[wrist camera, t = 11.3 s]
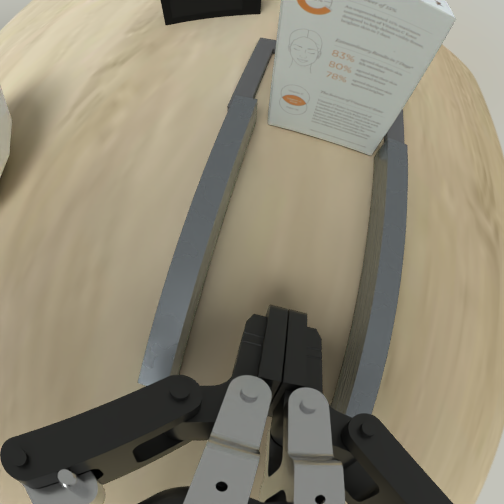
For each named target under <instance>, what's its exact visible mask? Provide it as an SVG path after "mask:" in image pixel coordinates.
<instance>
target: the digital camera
mask: <svg viewBox="0 0 504 504" xmlns="http://www.w3.org/2000/svg"><path fill="white" fill-rule="evenodd" d="M161 4H162V9H163V14H164V19H165V24H166V25H170V24H175V23H181V22H186V21H192V20H199V19H206V18H214V17H223V16H233V15H247V14H260V9H261V0H161Z"/></svg>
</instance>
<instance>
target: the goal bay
mask: <svg viewBox="0 0 504 504" xmlns="http://www.w3.org/2000/svg"><path fill="white" fill-rule="evenodd" d="M276 41H277V40H271V39H266V38H260V40H259V41H258V43H257V45H256V47H255V49H254V51H253V53H252V55H251V57H250V59H249V61H248V64H247V66H246V68H245V70H244V72H243V74H242V76H241V78H240V80H239V82H238V85H237V87H236V89H235V91H234V93H233V95H232V98H231V100H230V102H229V104H228V106H227V107H228V110H229V108H230V106H231V104H232V101H233V99H234V97H235V95H237V96H243V97H248V98H253V99H254V97H255V95H256V92H257V90H258V87H259V85H260V82H261V80H262V77H263V75H264V72H265V70H266V67H267V65H268V63H269V60H270V58H271V55H272V53H274V54H275V50H276ZM387 138H391V139H393V140H396V141H398V142H401V143H403V144H404V124H403V109H402V110H401V112H400V113H399V115H398V117H397V118H396V120H395V121H394V123H393V124H392V126H391V127H390V129H389V130H388V132H387V133H386V135H385V136H384V143H385V141H386V140H387Z"/></svg>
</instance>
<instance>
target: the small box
mask: <svg viewBox="0 0 504 504" xmlns="http://www.w3.org/2000/svg"><path fill="white" fill-rule="evenodd" d="M455 20H456V18H455V16H454V14H453V12H452V10H451V9H450V7H449V5H448V3H447V2H446V0H281V6H280V14H279V23H278V32H277V41H276V50H275V58H274V66H273V75H272V83H271V93H270V102H269V111H268V124H269V125H273V126H277V127H281V128H285V129H289V130H292V131H296V132H299V133H303V134H306V135H310V136H313V137H316V138H320V139H323V140H326V141H329V142H333V143H336V144H339V145H342V146H345V147H348V148H351V149H354V150H357V151H359V152H362V153H365V154H367V155H372V154H373V152H374V151H375V149H376V148H377V147H378V145H379V144H380V142H381V140H382V139H383V137H384V136H385V135H386V133H387V132H388V130H389V129H390V127H391V126H392V124H393V123H394V121H395V120H396V118H397V117H398V115H399V113H400V112H401V110H402V109H403V107H404V106H405V104H406V102H407V101H408V99H409V98H410V96H411V94H412V93H413V91H414V89H415V88H416V86H417V84H418V83H419V81H420V80H421V78H422V76H423V75H424V73H425V71H426V70H427V68H428V66H429V65H430V63H431V61H432V60H433V58H434V56H435V55H436V53H437V51H438V50H439V48H440V46H441V45H442V43H443V41H444V39H445V38H446V36H447V34H448V32H449V31H450V29H451V27H452V26H453V24H454V22H455Z"/></svg>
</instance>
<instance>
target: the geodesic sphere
mask: <svg viewBox="0 0 504 504" xmlns="http://www.w3.org/2000/svg"><path fill="white" fill-rule="evenodd" d="M11 128H12V118H11V115H10V112H9V109H8V106H7V103H6V101H5V98H4V95H3V92H2V89H1V86H0V177H1V174H2V172H3V169H4V167H5V164H6V162H7V159H8V157H9V154H10V139H11Z"/></svg>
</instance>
